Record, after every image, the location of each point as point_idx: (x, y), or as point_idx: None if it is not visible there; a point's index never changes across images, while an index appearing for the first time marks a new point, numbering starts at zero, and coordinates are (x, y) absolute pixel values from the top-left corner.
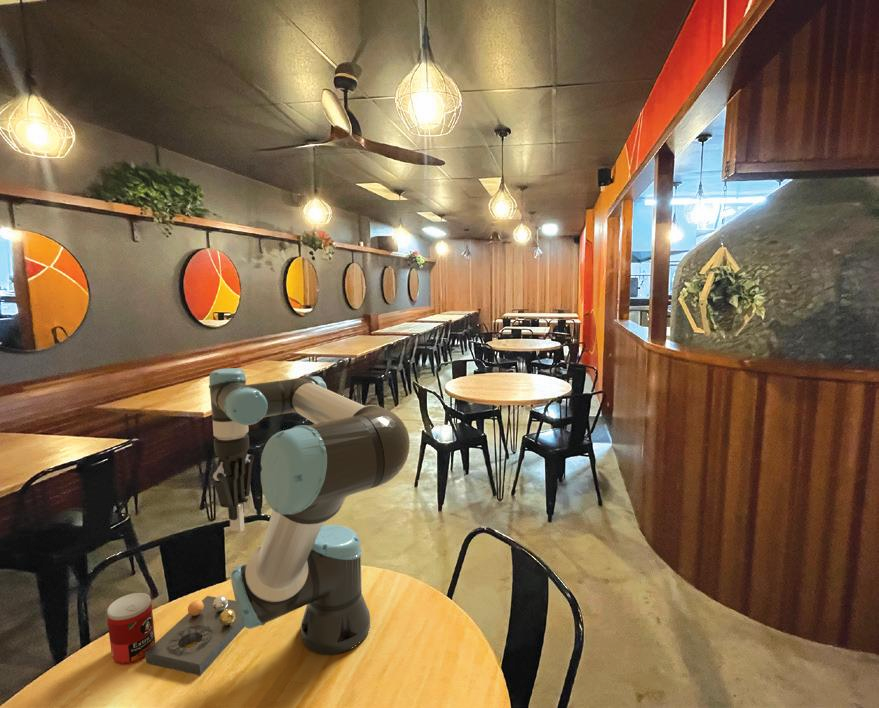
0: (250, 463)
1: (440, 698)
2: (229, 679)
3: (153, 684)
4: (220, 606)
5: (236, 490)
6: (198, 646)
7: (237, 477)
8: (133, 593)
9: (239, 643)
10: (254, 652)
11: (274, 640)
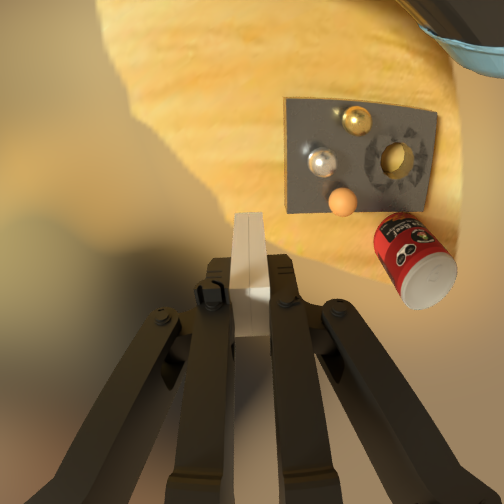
0: (65, 500)
1: None
2: (423, 62)
3: (443, 166)
4: (335, 154)
5: (288, 380)
6: (408, 137)
7: (296, 484)
8: (405, 301)
9: (360, 83)
10: (371, 46)
11: (337, 25)
